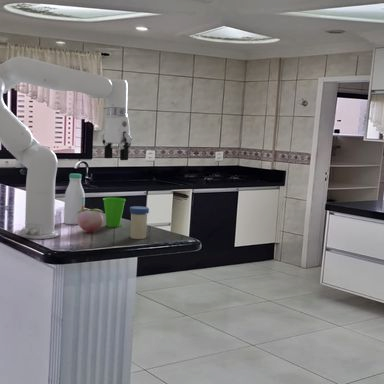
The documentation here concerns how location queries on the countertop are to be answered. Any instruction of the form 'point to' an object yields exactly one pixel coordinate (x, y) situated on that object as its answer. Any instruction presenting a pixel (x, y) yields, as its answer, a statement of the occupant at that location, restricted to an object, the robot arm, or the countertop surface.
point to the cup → (113, 211)
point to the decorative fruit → (90, 219)
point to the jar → (138, 226)
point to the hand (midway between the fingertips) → (116, 159)
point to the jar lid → (139, 210)
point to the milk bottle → (73, 199)
